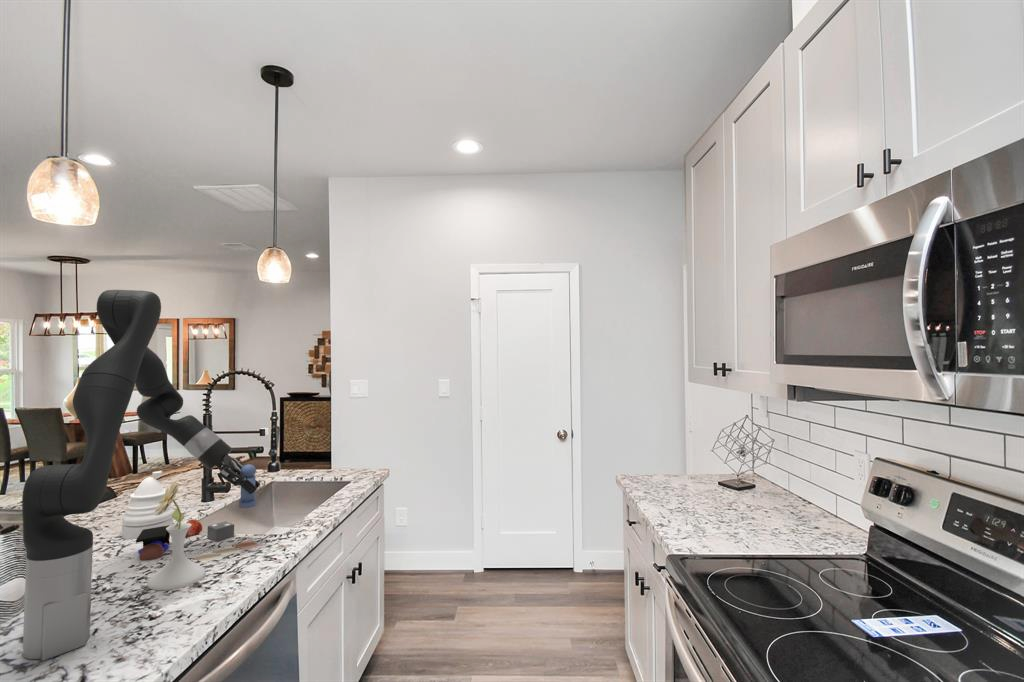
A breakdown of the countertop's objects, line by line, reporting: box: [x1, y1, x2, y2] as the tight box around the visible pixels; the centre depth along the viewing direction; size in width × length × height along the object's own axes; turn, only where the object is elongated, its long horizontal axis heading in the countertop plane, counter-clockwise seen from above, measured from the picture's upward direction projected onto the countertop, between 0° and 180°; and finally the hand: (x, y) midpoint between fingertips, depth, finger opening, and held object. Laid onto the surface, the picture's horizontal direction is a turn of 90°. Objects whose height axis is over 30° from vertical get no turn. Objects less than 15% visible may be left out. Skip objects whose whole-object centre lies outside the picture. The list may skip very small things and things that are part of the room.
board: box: [191, 539, 261, 564], centre depth 134 cm, size 8×16×2 cm, turn 146°
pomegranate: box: [185, 519, 203, 539], centre depth 148 cm, size 6×6×8 cm
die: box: [206, 520, 235, 543], centre depth 144 cm, size 5×5×5 cm
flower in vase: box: [147, 481, 207, 592], centre depth 116 cm, size 13×11×25 cm
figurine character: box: [135, 525, 171, 562], centre depth 134 cm, size 7×8×15 cm
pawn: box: [238, 463, 258, 509], centre depth 139 cm, size 4×4×12 cm
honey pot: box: [121, 470, 174, 540], centre depth 154 cm, size 13×13×18 cm
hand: (255, 489), depth 139 cm, fingers closed on pawn, 3 cm apart
